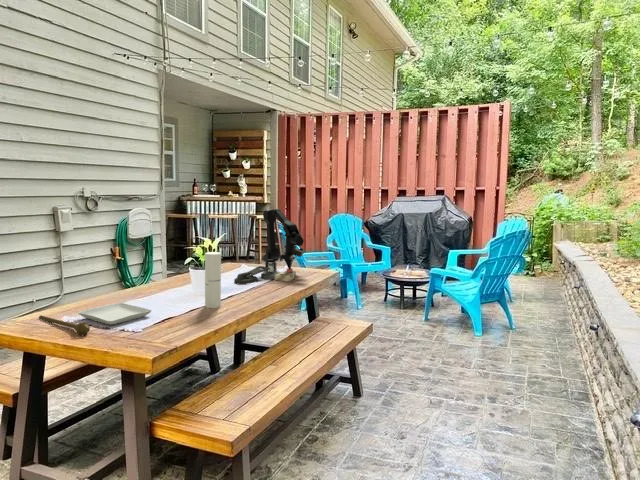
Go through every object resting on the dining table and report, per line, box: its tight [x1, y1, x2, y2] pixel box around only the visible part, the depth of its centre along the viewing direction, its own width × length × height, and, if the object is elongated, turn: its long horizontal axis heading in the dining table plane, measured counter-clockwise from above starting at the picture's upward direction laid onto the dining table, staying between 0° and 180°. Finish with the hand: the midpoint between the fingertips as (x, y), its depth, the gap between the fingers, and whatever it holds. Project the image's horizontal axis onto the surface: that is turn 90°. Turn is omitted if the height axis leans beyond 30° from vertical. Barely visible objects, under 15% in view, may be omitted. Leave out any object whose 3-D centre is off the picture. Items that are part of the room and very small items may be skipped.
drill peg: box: [267, 262, 275, 274], centre depth 300 cm, size 3×3×9 cm
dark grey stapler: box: [233, 265, 269, 285], centre depth 289 cm, size 9×7×25 cm
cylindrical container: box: [204, 251, 222, 309], centre depth 227 cm, size 7×7×25 cm
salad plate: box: [77, 302, 152, 326], centre depth 205 cm, size 21×21×3 cm
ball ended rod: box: [38, 314, 91, 336], centre depth 191 cm, size 5×35×5 cm
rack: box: [274, 272, 295, 282], centre depth 294 cm, size 9×9×3 cm
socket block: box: [260, 270, 297, 280], centre depth 303 cm, size 17×17×3 cm
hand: (289, 268), depth 306 cm, fingers closed, pressing on release button
